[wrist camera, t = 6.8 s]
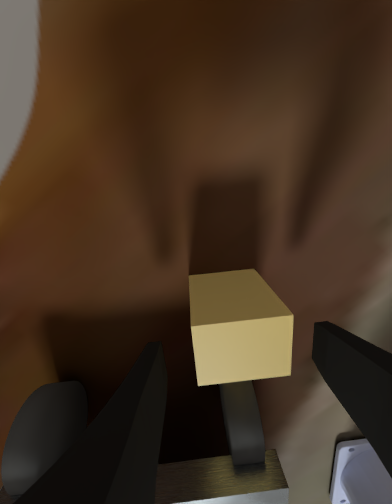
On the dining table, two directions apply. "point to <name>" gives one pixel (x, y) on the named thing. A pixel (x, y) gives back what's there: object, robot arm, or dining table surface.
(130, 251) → the dining table surface
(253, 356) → the yellow cube-like block
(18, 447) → the trolley
